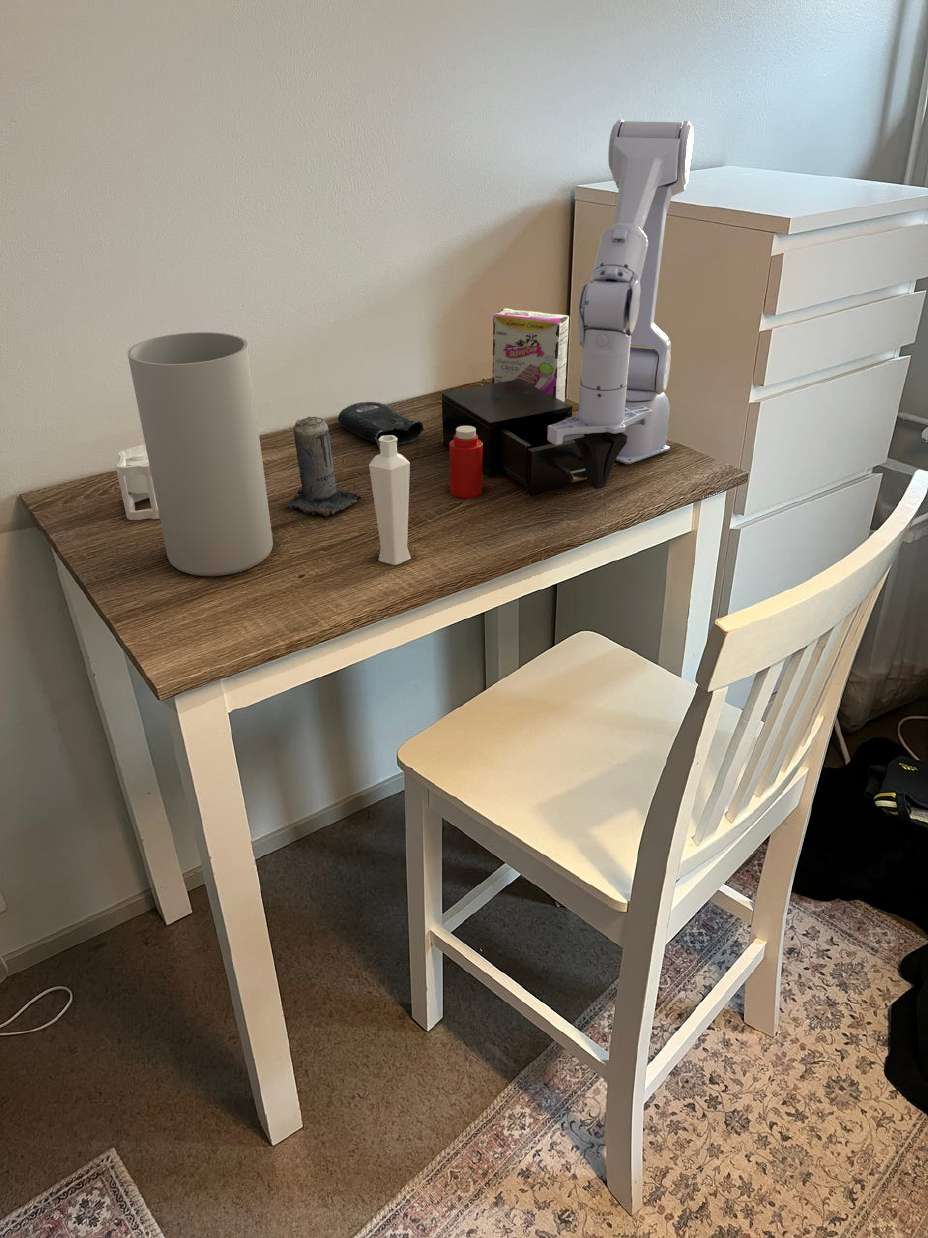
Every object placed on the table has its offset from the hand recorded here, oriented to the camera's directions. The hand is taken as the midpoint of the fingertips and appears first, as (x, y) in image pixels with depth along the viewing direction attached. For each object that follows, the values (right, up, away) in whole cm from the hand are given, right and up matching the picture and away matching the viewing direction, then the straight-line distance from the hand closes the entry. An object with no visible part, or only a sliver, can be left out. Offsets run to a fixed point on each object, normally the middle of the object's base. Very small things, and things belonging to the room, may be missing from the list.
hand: (596, 485), depth 123 cm
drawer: (-5, +3, +9) cm, 11 cm away
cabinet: (-11, +8, +19) cm, 24 cm away
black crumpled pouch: (-31, +12, +27) cm, 43 cm away
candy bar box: (-7, +16, +33) cm, 37 cm away
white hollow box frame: (-54, 0, +7) cm, 55 cm away
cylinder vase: (-47, -10, -8) cm, 48 cm away
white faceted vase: (-25, -10, -9) cm, 29 cm away
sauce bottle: (-17, 0, +7) cm, 18 cm away
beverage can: (-36, -2, +4) cm, 36 cm away
